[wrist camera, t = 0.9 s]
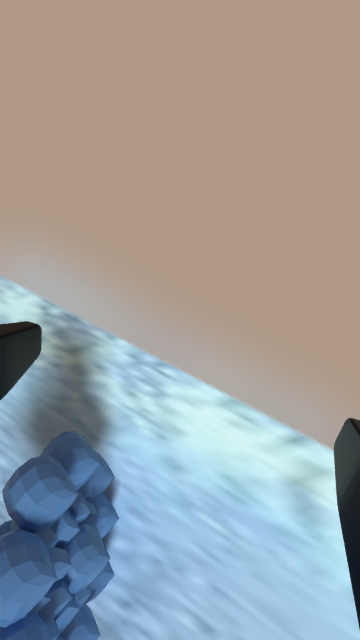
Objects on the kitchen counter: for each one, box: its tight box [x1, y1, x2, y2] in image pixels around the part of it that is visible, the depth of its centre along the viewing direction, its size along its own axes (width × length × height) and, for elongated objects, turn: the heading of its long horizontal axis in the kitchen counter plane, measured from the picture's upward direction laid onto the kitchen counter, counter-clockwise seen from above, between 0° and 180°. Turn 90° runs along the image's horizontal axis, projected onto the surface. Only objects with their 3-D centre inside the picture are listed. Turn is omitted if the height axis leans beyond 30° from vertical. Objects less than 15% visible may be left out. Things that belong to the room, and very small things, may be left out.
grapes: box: [0, 431, 119, 640], centre depth 16 cm, size 12×7×12 cm, turn 179°
